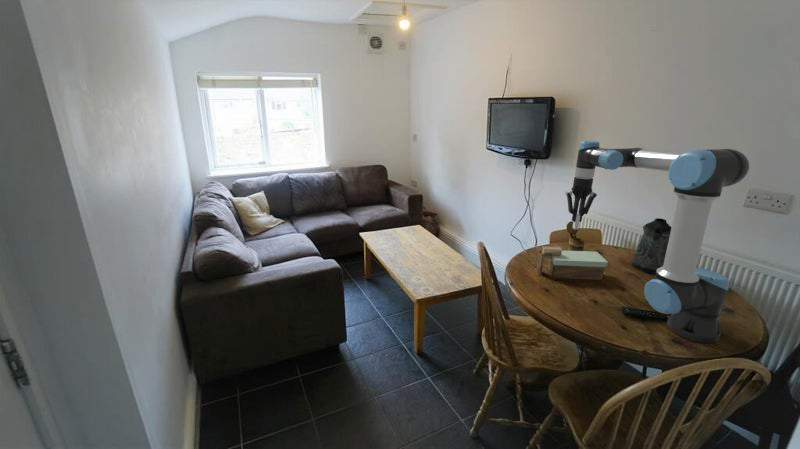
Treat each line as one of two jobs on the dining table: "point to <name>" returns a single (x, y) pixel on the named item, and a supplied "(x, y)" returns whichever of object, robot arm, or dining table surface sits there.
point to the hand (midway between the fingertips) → (575, 228)
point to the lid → (579, 259)
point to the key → (551, 250)
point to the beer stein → (652, 246)
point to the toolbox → (569, 269)
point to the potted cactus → (574, 239)
